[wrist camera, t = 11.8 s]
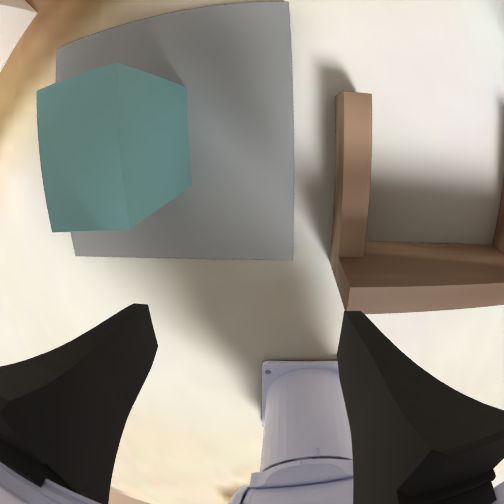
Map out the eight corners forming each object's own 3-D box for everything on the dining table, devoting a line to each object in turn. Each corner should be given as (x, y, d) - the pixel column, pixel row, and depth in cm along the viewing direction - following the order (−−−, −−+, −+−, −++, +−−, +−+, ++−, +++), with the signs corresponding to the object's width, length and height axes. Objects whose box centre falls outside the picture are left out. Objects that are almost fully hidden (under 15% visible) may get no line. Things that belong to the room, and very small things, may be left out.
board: (292, 254, 19) (292, 260, 19) (81, 252, 21) (75, 256, 20) (288, 6, 13) (288, 1, 13) (63, 50, 15) (57, 48, 14)
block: (191, 186, 17) (130, 229, 10) (132, 189, 18) (52, 232, 11) (186, 87, 15) (116, 62, 8) (125, 97, 16) (36, 91, 8)
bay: (500, 262, 18) (542, 299, 12) (329, 262, 19) (346, 314, 14) (518, 132, 14) (572, 143, 8) (335, 96, 15) (361, 80, 10)
